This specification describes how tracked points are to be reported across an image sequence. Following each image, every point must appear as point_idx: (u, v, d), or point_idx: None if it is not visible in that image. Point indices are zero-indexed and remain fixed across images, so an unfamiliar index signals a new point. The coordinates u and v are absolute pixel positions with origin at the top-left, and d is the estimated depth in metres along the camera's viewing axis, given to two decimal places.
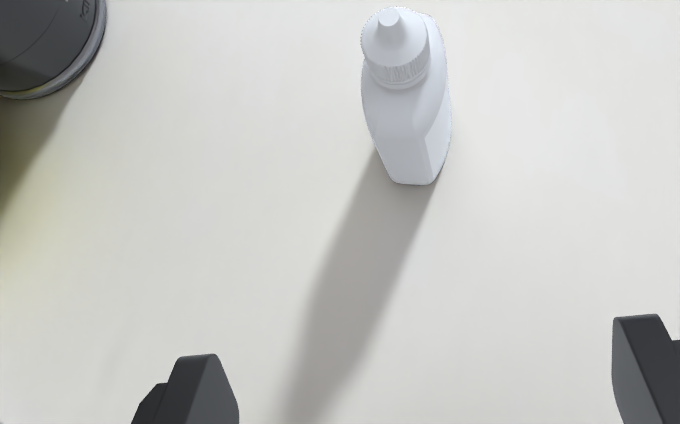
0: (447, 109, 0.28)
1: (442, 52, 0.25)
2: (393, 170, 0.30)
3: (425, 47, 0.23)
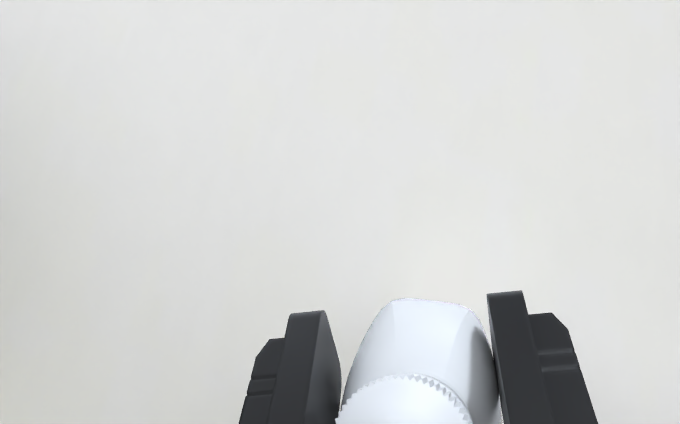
0: None
1: (494, 400, 0.13)
2: None
3: None
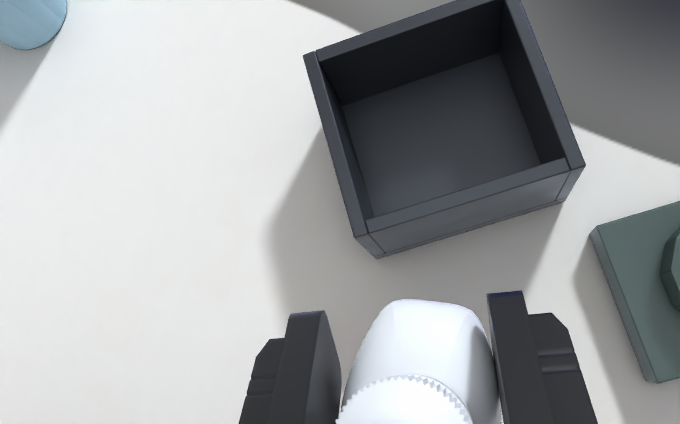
0: None
1: (495, 401, 0.13)
2: None
3: None
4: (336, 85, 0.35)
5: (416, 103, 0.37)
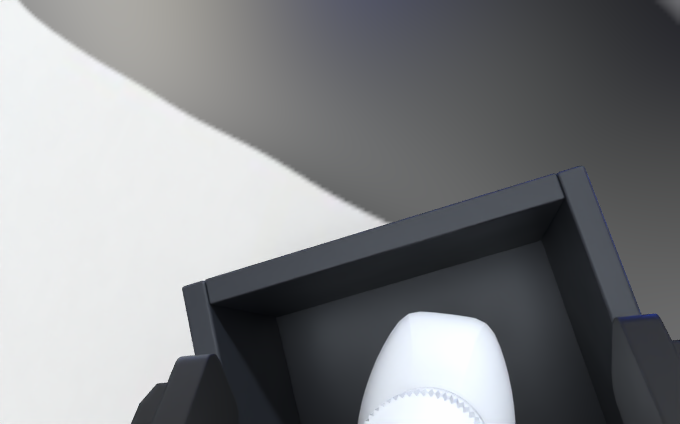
0: None
1: (510, 413, 0.13)
2: None
3: None
4: (257, 310, 0.20)
5: None
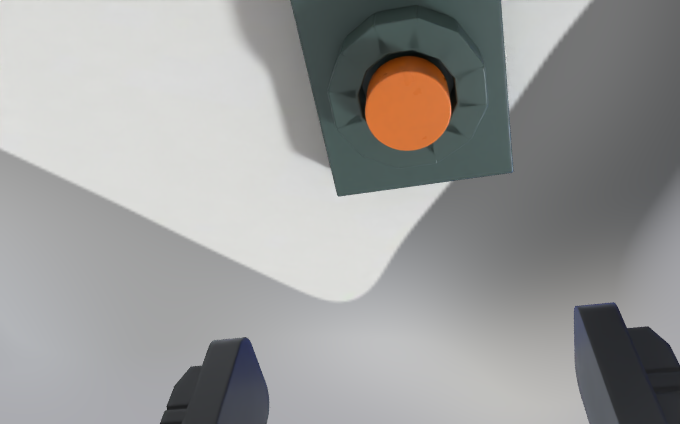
0: None
1: None
2: None
3: None
4: None
5: None
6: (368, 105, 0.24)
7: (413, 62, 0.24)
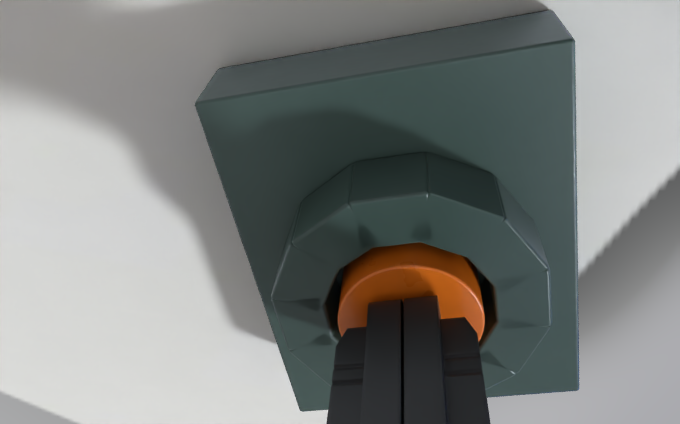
0: None
1: None
2: None
3: None
4: None
5: None
6: (343, 313, 0.14)
7: None
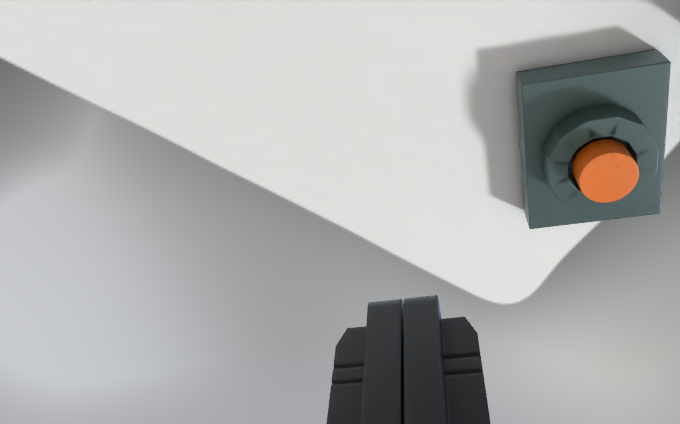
0: None
1: None
2: None
3: None
4: None
5: None
6: (583, 173, 0.36)
7: (612, 144, 0.36)
